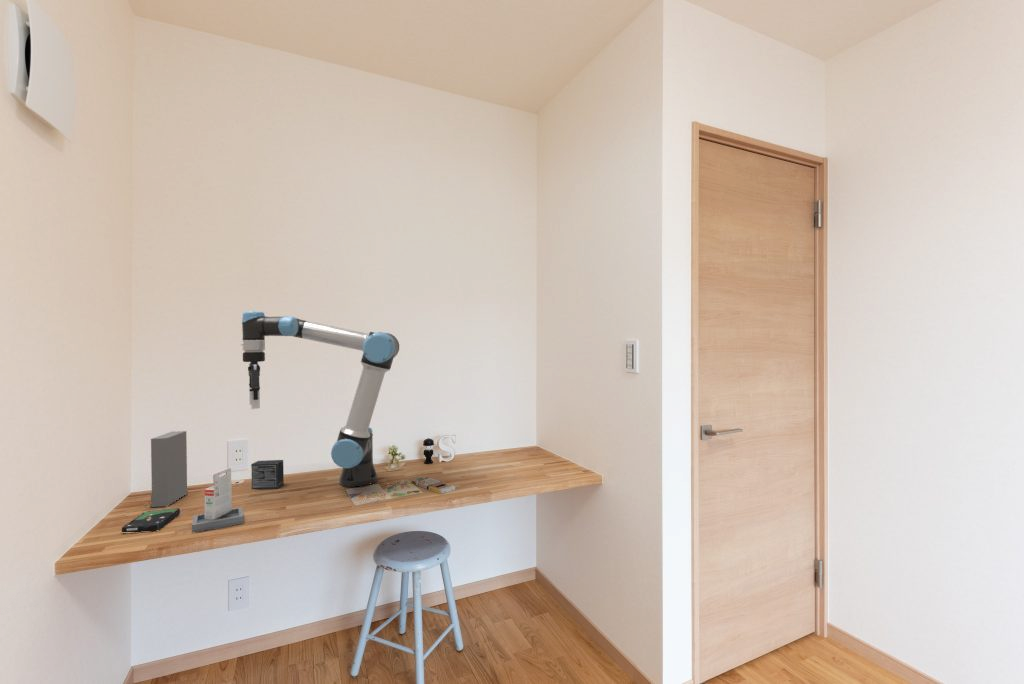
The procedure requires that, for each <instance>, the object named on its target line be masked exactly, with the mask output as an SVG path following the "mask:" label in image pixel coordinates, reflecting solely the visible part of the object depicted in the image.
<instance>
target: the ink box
mask: <svg viewBox="0 0 1024 684" xmlns="http://www.w3.org/2000/svg"><path fill="white" fill-rule="evenodd" d="M231 470H232V469H231V468H228V469H225V470H222V471H220V472H217V473H214V474H213V477H212V478H213V485H212V486H209V487H207V488H205V489H204V513H205V519H208V520H214V519H217V518H219V517H221V516H223V515H225V514H227V513H228V512H230V511H232V509H233V507H232V506H233V505H232V503H233V502H232V471H231ZM222 474H223V475H222ZM220 475H221V476H220Z"/></svg>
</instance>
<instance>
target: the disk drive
mask: <svg viewBox="0 0 1024 684" xmlns="http://www.w3.org/2000/svg"><path fill="white" fill-rule="evenodd" d="M179 514H181V508H180V507H178V508H177V507H175V508H168V509H167V508H165V509H158V510H147V511H145V512H143V513H141V514H140V515H138V516H137V517H135V518H134V519H132V520H131V521H129V522H127V524H124V525H123V526H122V527H121V533H122V532H141V531H152V532H157V531H156V530H159V531H160V530H162V529H163V528H164V527H165V525H166V526H167V525H168V524H169V523H171V522H172V521H173V520H174V518H175V517H176V518H178V517H179V516H180V515H179ZM176 518H175V519H176ZM161 528H162V529H161ZM141 533H142V532H141Z"/></svg>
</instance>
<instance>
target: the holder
mask: <svg viewBox="0 0 1024 684" xmlns="http://www.w3.org/2000/svg"><path fill="white" fill-rule="evenodd" d="M237 524H238V525H243V524H244V511H243V506H239V507H234V508H233V507H232V511H230V512H228V513H227V514H225V515H223V516H221V517H219V518H217V519H214V520H208V519H205V512H204V513H199V514H194V515H193V517H192V524H191V530H192V531H191V533H192V534H194V533H193V532H196V533H200V532H199V531H201V532H205V530H207V531H211V529H212V530H216V529H221V528H226V527H227V526H228V527H231V526H232V525H233V526H237ZM233 526H232V527H233Z"/></svg>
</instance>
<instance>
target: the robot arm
mask: <svg viewBox="0 0 1024 684" xmlns="http://www.w3.org/2000/svg"><path fill="white" fill-rule="evenodd" d="M241 325H242V326H241V327H242V328H241V329H242V342H241V343H240V346H242V351H243V353H242V361H243V363H249V364H248V367H247V371H248V377H249V380H248V381H249V383H248V387H249V389H248V390H249V405H250V407H251V410H255V409H260V408H261V405H260V404H261V403H260V402H261V401H260V399H261V397H260V396H261V394H260V392H261V391H260V390H261V387H260V386H261V385H260V374H261V373H260V372H261V366H260V365H259V362H260V363H261V362H265V361H266V353H265V351H266V340H265V337H294V338H298V339H304V340H308V341H313V342H319V343H324V344H328V345H333V346H337V347H342V348H347V349H353V350H358V351H361V352H363V353H362V356H361V359H360V363H361V365H362V370H361V374H360V377H359V380H358V385H357V387H356V390H355V393H354V397H353V400H352V404H351V407H350V410H349V413H348V417H347V420H346V424H345V426H343V427H341V428H340V430H339V433H338V436H337V440H336V442H335V443H334V444H333V446H332V448H331V450H330V451H331V452H330V455H331V459H332V461H333V463H334V464H335V465H336V466H337V467H339V468H341V473H340V476H339V485H340V486H341V485H342V487H345V488H346V487H347V488H356V487H355V486H361V487H363V486H362V485H366V484H370V483H373V484H375V483H376V482H377V481H378V473H377V470H376V467H375V464H374V458H373V453H374V452H373V451H374V449H373V448H374V447H373V441H374V440H373V439H374V438H373V437H374V433H373V429H372V428H371V427H370V424H371V421H372V418H373V415H374V411H375V407H376V404H377V401H378V399H379V393H380V391H381V387H382V385H383V384H382V383H383V381H384V377H385V374H386V373H387V372H389V371H390V370H391V368H392V364H393V362H394V359H395V357H396V356H398V353H399V352H400V343H399V342H400V341H399V340H398V339H397V337H396V336H395V335H393V334H391V333H389V332H382V331H379V332H373V331H369V332H362V331H359V330H354V329H353V330H352V329H347V328H343V327H338V326H333V325H328V324H323V323H320V322H319V323H318V322H313V321H309V320H305V319H300V318H297V317H295V316H287V315H286V316H285V315H284V316H266V315H265V312H263V311H256V310H255V311H249V310H248V311H244V312H243V313H242V321H241ZM374 482H375V483H374ZM370 485H371V484H370ZM366 486H367V485H366Z"/></svg>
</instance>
